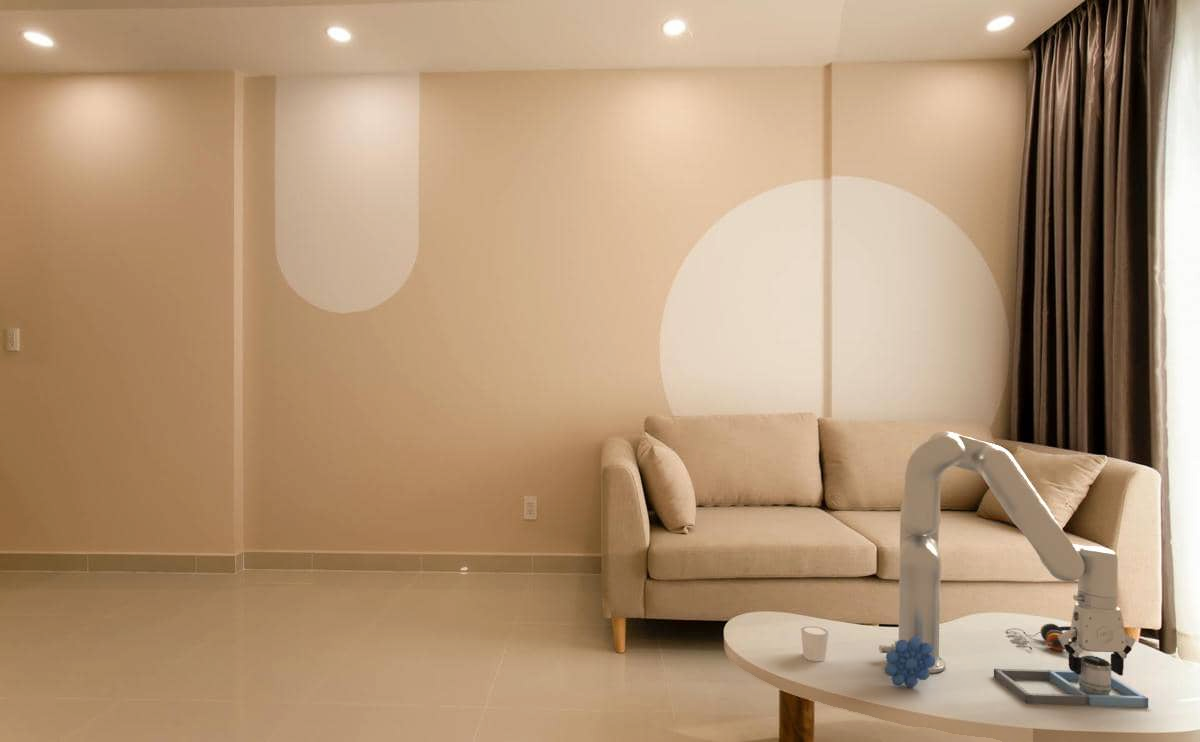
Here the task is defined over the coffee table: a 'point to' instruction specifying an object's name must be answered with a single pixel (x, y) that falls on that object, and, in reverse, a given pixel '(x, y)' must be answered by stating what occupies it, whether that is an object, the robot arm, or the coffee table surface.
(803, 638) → the shot glass
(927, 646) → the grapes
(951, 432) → the robot arm
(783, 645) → the coffee table surface
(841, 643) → the coffee table surface
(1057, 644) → the headphones
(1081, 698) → the organizer
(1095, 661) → the camera lens
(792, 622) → the coffee table surface
